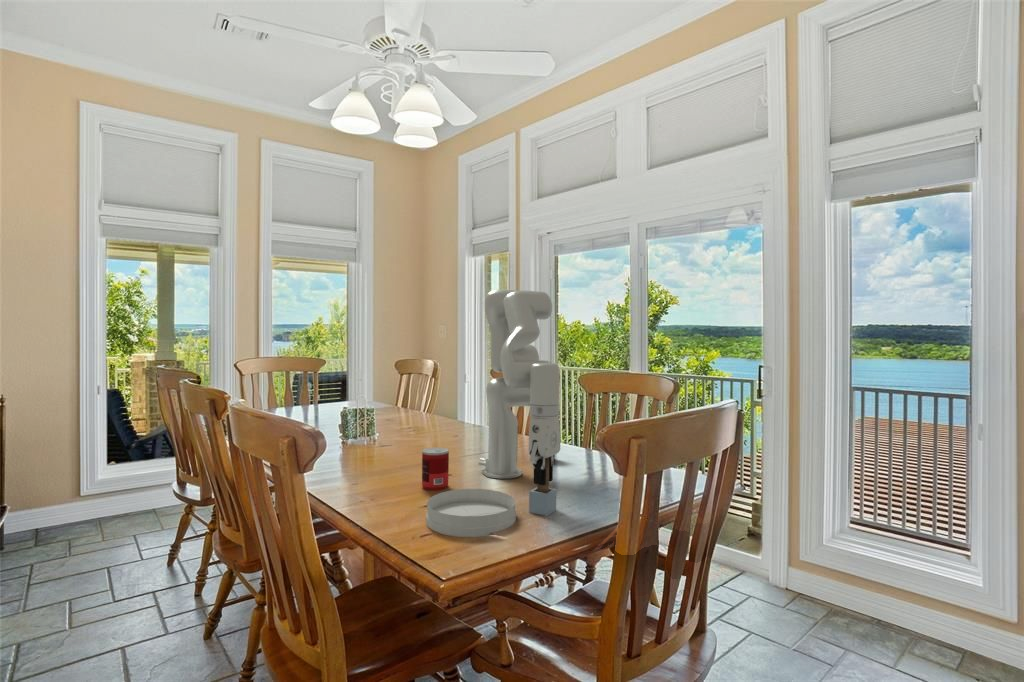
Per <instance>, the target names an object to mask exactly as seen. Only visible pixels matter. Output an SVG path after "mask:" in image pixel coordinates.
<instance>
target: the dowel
mask: <svg viewBox="0 0 1024 682" xmlns="http://www.w3.org/2000/svg"><path fill="white" fill-rule="evenodd" d="M538 460H540V462H541V459H538ZM544 469H546V484H545V485H539V484H536V487H537V492H542V493H548V492H549V488H550V481H549V457H548V458H545V468H544Z"/></svg>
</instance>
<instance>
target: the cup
mask: <svg viewBox="0 0 1024 682" xmlns="http://www.w3.org/2000/svg"><path fill="white" fill-rule="evenodd" d="M528 499H529V501H528V502H529V503H528V504H529V505H528V513H530V514H535V515H541V516H546V517H548V516H549V515H551V514H553V513H554V512H556V511H557V489H556V488H552V487H549V492H548V493H542V492H537V486H536V487H535V488H532V489H531V490H529V497H528Z"/></svg>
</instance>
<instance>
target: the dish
mask: <svg viewBox="0 0 1024 682" xmlns="http://www.w3.org/2000/svg"><path fill="white" fill-rule="evenodd" d="M425 516H426V518H425V520H426V521H425V522H426V526H427V527H428V528H430V529H431V530H432V531H434V532H436V533H438V534H442V535H445V536H451V537H457V538H458V537H460V538H479V537H489V536H494V535H495V532H499V531H500V532H501V531H503V530H505V529H508V528H510V527H511V526H513V525H514V524H515V523H516V519H517V511H516V499H515V498H514V497H513V496H512V495H510V494H508V493H505V492H502V491H498V490H492V489H488V488H487V489H486V488H460V489H458V488H457V489H453V490H452V489H451V490H447V491H443V492H439V493H436V494H434V495H433V496H431V497H430V498H428V499H427V502H426V513H425Z"/></svg>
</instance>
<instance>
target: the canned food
mask: <svg viewBox="0 0 1024 682" xmlns="http://www.w3.org/2000/svg"><path fill="white" fill-rule="evenodd" d="M449 454H450V451H449V449H448V448H445V447H428V448H427V447H426V448H425V449H423V450H422V453H421V455H422V456H421V472H422V473H421V487H422V488H423V489H424V490H428V491H440V490H444V489H446V488H447V487H448V486H449V466H450V465H449V463H450V462H449V461H450V459H449V457H450V455H449Z"/></svg>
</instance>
